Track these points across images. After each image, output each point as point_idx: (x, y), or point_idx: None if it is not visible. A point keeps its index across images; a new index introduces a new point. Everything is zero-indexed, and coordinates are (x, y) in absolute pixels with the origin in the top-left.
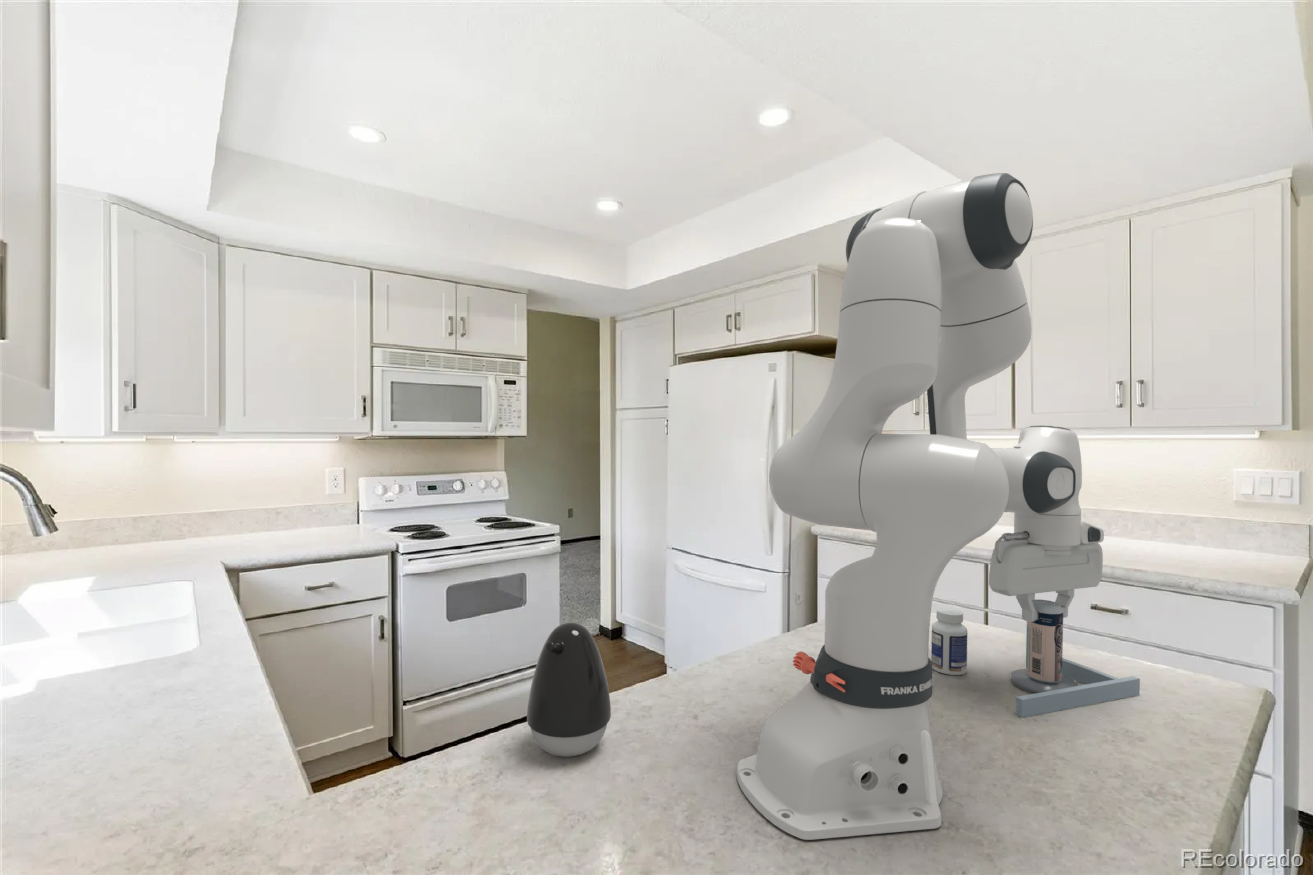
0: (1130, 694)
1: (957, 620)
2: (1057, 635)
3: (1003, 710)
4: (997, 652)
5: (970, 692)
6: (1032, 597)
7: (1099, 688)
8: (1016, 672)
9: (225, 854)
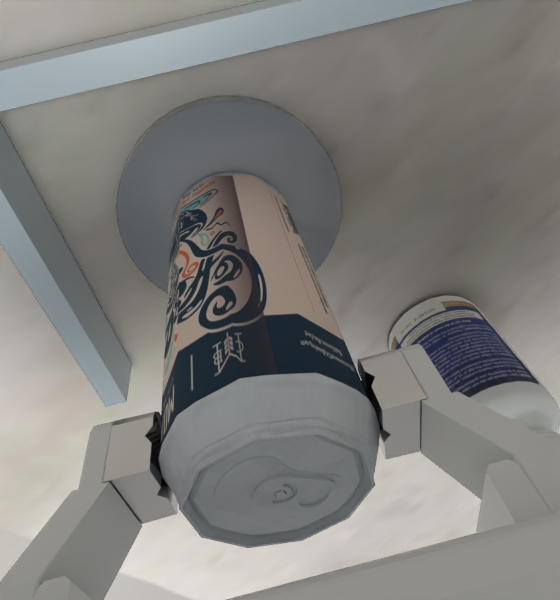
0: None
1: None
2: (241, 281)
3: (554, 19)
4: None
5: (518, 179)
6: (528, 480)
7: (104, 44)
8: None
9: None
